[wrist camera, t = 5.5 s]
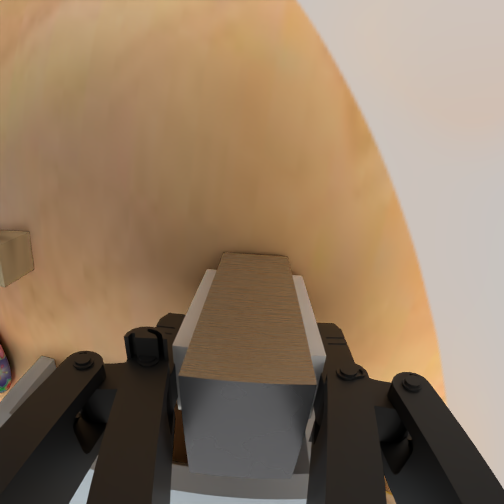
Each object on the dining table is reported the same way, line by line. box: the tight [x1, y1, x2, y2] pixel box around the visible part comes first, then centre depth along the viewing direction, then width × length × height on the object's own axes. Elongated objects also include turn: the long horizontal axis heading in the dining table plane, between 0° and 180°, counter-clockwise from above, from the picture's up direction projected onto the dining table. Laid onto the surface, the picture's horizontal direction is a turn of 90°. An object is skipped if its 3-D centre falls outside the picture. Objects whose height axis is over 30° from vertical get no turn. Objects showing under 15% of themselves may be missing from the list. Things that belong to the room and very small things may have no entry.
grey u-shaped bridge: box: [0, 356, 315, 504], centre depth 16 cm, size 13×19×8 cm
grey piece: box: [172, 252, 317, 479], centre depth 14 cm, size 19×7×9 cm, turn 176°
